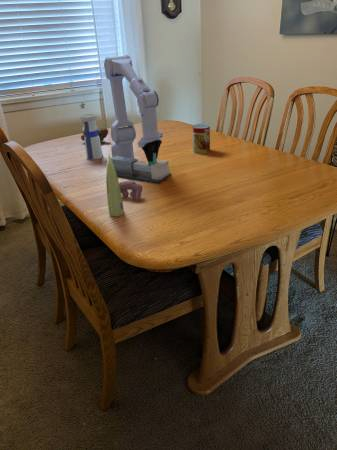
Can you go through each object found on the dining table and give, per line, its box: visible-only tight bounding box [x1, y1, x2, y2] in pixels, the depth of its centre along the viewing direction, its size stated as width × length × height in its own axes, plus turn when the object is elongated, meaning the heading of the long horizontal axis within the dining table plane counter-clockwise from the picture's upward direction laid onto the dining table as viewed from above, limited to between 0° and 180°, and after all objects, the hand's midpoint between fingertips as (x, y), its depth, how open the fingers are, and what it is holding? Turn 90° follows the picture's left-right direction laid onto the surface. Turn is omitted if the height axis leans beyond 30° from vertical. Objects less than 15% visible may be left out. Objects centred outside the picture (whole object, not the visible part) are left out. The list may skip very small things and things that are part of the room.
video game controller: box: [119, 180, 144, 203], centre depth 134 cm, size 10×5×7 cm, turn 72°
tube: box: [105, 154, 125, 217], centre depth 120 cm, size 6×5×20 cm
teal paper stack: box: [131, 152, 158, 172], centre depth 150 cm, size 16×3×8 cm, turn 60°
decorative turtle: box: [80, 127, 109, 144], centre depth 199 cm, size 10×15×8 cm, turn 89°
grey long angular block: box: [111, 156, 172, 185], centre depth 153 cm, size 25×10×6 cm, turn 60°
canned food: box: [192, 123, 211, 155], centre depth 175 cm, size 8×8×12 cm
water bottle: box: [79, 101, 104, 160], centre depth 173 cm, size 8×9×25 cm
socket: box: [151, 160, 170, 180], centre depth 148 cm, size 4×7×5 cm, turn 150°
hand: (152, 160), depth 148 cm, fingers closed on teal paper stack, 3 cm apart
